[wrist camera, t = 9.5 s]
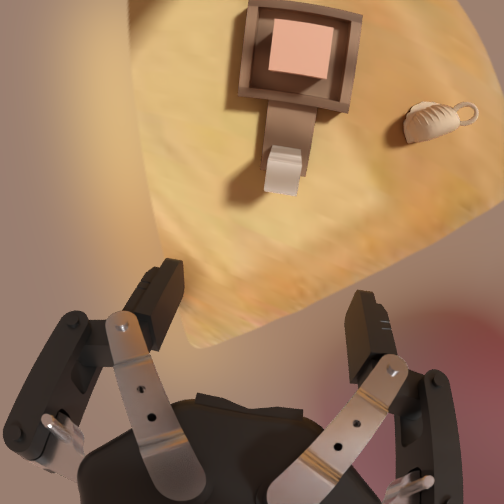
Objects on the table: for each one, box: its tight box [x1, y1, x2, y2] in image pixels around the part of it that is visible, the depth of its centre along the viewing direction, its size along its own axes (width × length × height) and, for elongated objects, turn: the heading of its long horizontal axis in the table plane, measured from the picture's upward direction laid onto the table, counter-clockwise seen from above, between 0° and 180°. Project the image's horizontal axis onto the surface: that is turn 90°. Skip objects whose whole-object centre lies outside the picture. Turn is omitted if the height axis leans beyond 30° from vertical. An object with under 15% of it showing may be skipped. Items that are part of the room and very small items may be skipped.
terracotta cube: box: [268, 19, 334, 79], centre depth 22 cm, size 5×5×5 cm
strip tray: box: [238, 0, 363, 196], centre depth 24 cm, size 19×11×7 cm, turn 174°
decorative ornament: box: [404, 102, 479, 143], centre depth 24 cm, size 4×8×5 cm, turn 118°
